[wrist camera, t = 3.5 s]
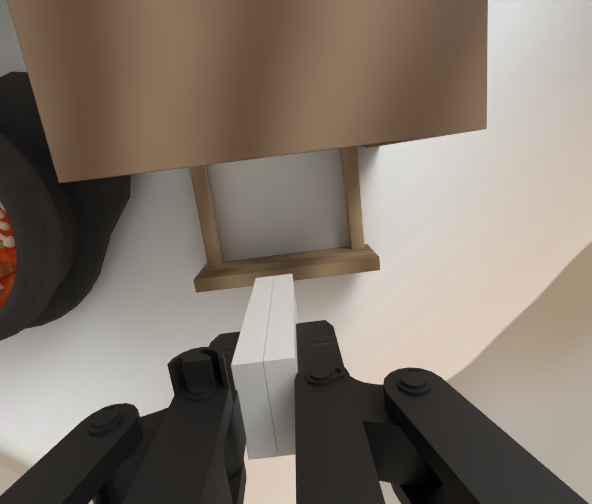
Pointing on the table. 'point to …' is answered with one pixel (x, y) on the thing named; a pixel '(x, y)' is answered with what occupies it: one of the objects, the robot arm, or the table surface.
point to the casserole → (46, 219)
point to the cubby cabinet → (246, 77)
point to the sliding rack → (296, 264)
